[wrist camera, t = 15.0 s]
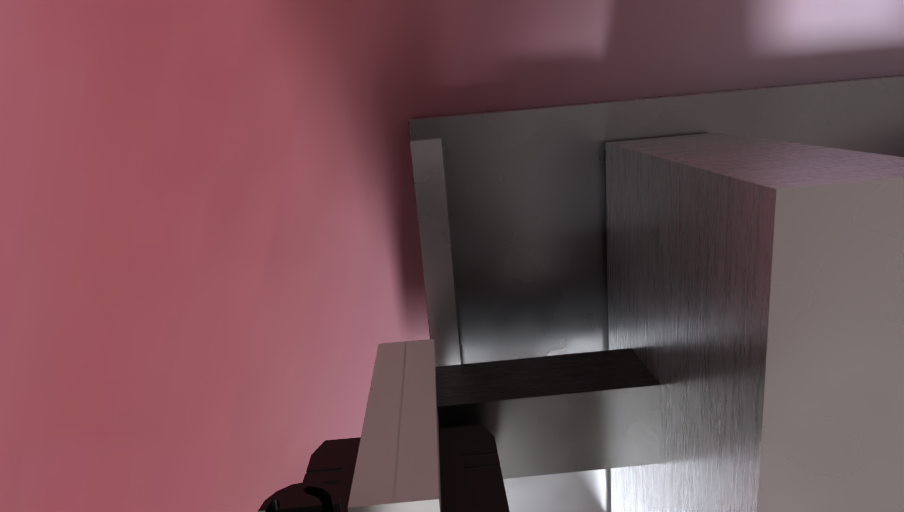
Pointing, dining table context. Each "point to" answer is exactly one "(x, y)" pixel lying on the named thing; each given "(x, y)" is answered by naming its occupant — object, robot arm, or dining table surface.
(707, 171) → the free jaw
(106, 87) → the dining table surface
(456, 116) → the vise bed
